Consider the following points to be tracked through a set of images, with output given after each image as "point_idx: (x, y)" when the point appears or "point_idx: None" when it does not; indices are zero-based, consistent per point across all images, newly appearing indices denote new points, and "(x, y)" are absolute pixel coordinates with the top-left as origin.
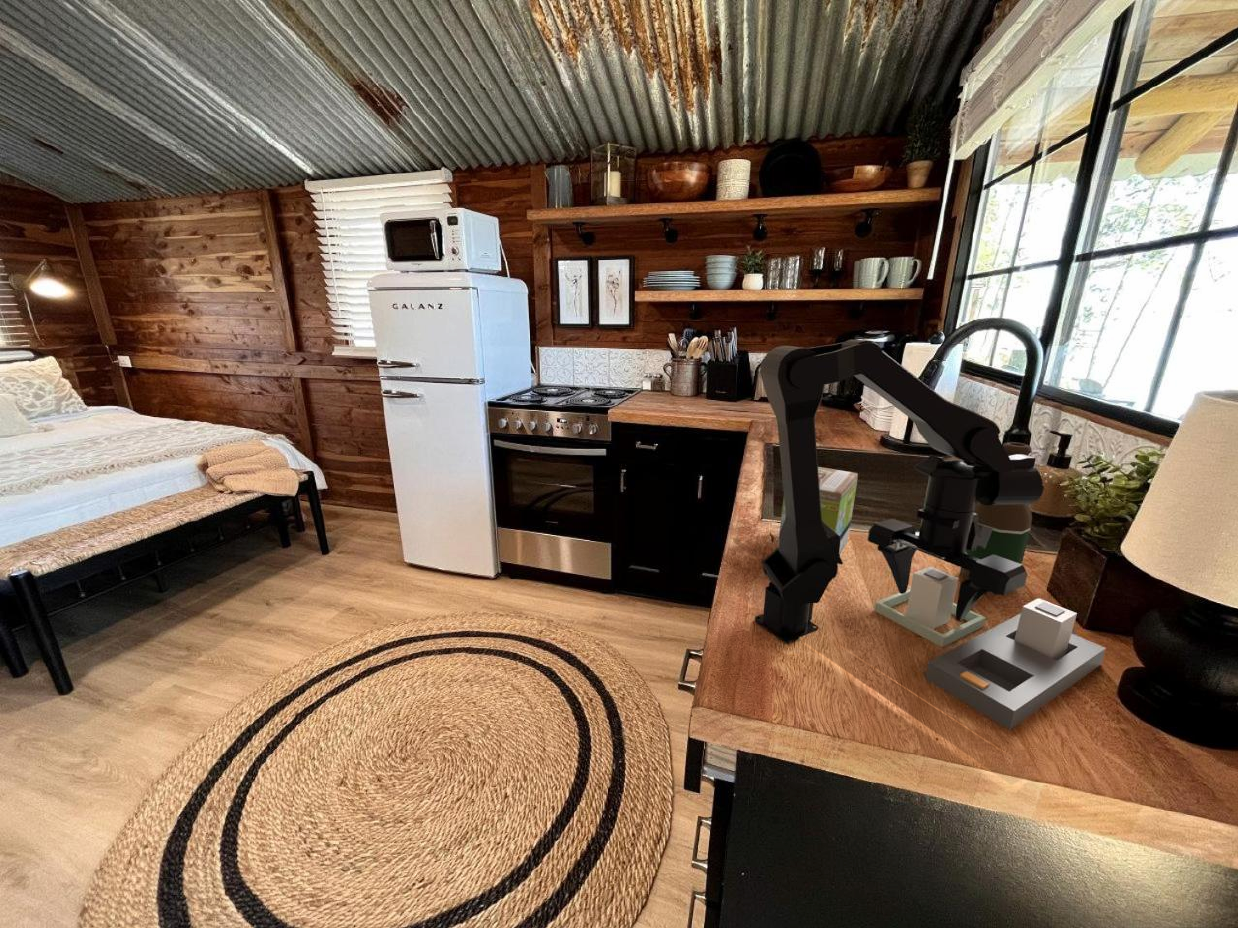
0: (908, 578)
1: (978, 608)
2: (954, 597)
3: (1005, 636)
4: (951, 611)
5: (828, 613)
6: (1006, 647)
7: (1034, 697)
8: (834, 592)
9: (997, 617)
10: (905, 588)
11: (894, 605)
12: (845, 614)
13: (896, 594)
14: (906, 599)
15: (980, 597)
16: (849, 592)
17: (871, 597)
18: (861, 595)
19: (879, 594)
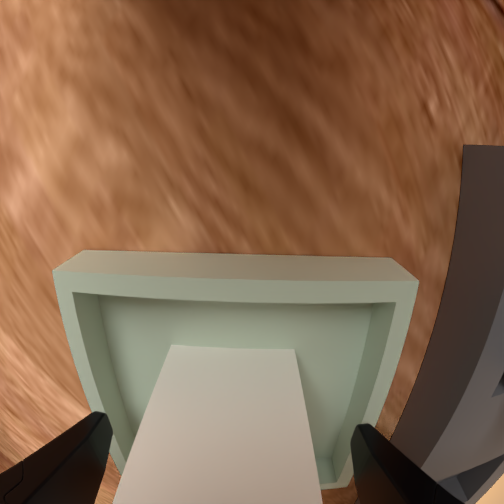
0: (75, 457)
1: (295, 72)
2: (311, 442)
3: (490, 398)
4: (300, 382)
5: (106, 486)
6: (485, 435)
7: (496, 480)
8: (25, 416)
9: (382, 87)
10: (101, 436)
11: (121, 402)
12: (117, 476)
13: (93, 407)
14: (104, 347)
15: (454, 498)
16: (26, 393)
17: (54, 378)
18: (41, 387)
19: (42, 342)
